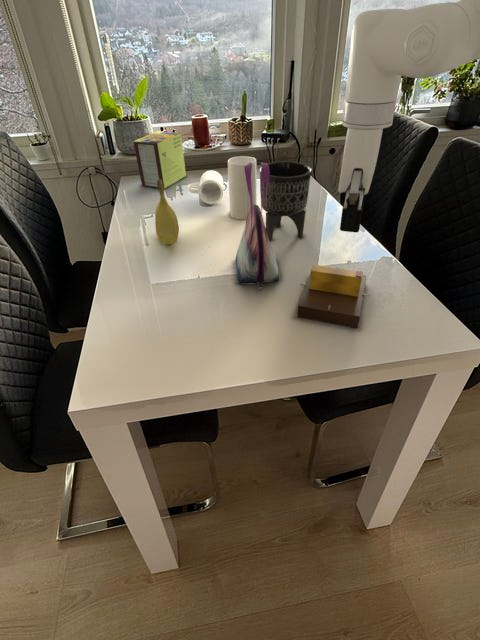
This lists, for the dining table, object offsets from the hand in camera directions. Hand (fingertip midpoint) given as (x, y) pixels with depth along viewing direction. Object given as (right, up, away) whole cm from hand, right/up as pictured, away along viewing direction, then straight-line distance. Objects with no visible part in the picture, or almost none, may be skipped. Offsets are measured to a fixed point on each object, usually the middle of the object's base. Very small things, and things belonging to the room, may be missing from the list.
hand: (352, 219), depth 68 cm
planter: (-8, +6, +37) cm, 39 cm away
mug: (-32, +23, +59) cm, 71 cm away
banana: (-40, +4, +36) cm, 54 cm away
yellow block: (-1, -12, +10) cm, 16 cm away
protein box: (-49, +35, +74) cm, 96 cm away
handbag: (-16, -7, +22) cm, 28 cm away
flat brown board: (-1, -14, +12) cm, 19 cm away
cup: (-19, +15, +49) cm, 54 cm away
